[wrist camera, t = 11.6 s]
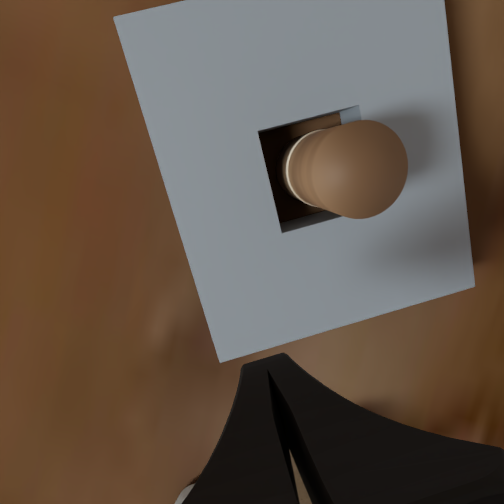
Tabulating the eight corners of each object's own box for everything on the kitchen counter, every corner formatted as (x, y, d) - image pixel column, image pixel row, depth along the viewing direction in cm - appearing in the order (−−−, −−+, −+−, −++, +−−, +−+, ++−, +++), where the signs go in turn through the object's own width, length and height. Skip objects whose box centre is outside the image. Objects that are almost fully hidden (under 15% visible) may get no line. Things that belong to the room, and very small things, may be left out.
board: (406, -29, 18) (438, -58, 16) (445, 273, 22) (474, 286, 20) (125, 37, 18) (113, 17, 15) (217, 340, 22) (219, 362, 19)
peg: (330, 125, 20) (398, 104, 13) (346, 189, 21) (418, 202, 14) (266, 146, 19) (302, 136, 13) (285, 210, 20) (328, 233, 14)
